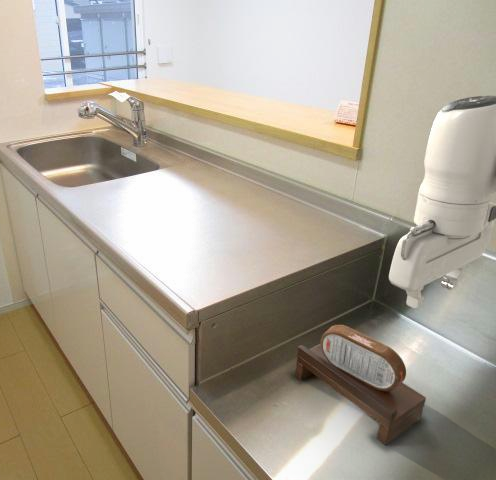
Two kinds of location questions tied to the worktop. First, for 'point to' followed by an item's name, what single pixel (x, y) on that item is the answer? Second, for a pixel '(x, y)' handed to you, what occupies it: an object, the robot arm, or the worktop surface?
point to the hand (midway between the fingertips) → (431, 296)
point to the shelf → (365, 394)
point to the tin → (363, 358)
